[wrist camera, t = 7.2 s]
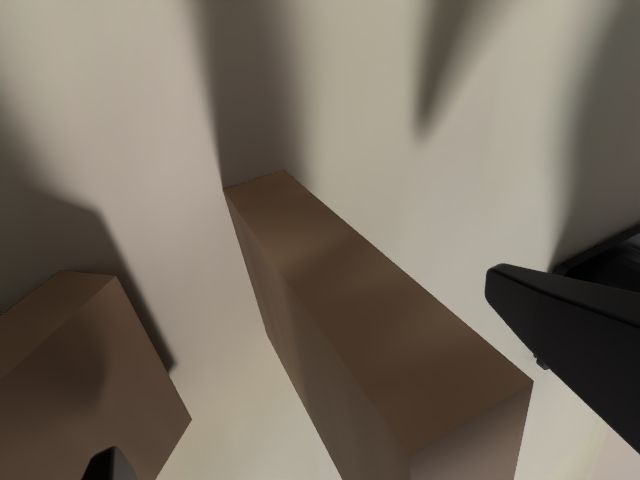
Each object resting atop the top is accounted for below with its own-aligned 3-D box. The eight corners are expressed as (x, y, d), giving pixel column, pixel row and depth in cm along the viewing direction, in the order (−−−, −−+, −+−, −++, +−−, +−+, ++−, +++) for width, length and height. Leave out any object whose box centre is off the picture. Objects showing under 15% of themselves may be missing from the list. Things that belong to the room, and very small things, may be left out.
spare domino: (283, 169, 10) (533, 380, 4) (314, 315, 13) (494, 568, 7) (222, 189, 10) (409, 456, 4) (267, 335, 13) (418, 626, 7)
